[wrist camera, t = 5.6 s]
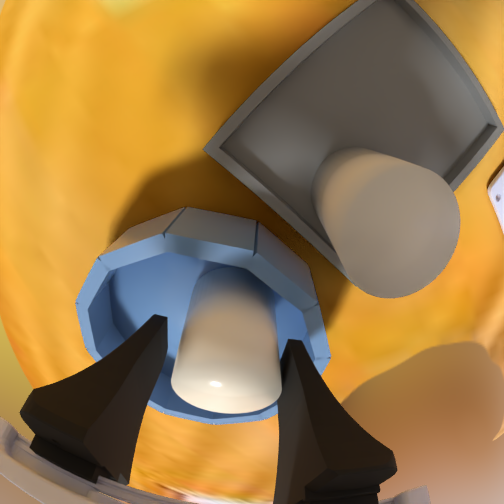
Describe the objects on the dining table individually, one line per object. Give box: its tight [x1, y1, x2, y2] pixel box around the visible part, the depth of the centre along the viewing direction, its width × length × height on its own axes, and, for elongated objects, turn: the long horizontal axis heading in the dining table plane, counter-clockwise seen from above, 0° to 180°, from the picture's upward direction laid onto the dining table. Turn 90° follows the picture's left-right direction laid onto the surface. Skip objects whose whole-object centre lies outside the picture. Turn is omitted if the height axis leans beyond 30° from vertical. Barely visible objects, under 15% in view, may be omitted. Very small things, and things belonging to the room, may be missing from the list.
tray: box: [203, 0, 504, 286], centre depth 11 cm, size 10×13×1 cm
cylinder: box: [311, 147, 460, 298], centre depth 10 cm, size 4×4×6 cm
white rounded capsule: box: [171, 267, 282, 414], centre depth 13 cm, size 4×4×6 cm
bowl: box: [75, 207, 331, 425], centre depth 15 cm, size 14×14×4 cm
